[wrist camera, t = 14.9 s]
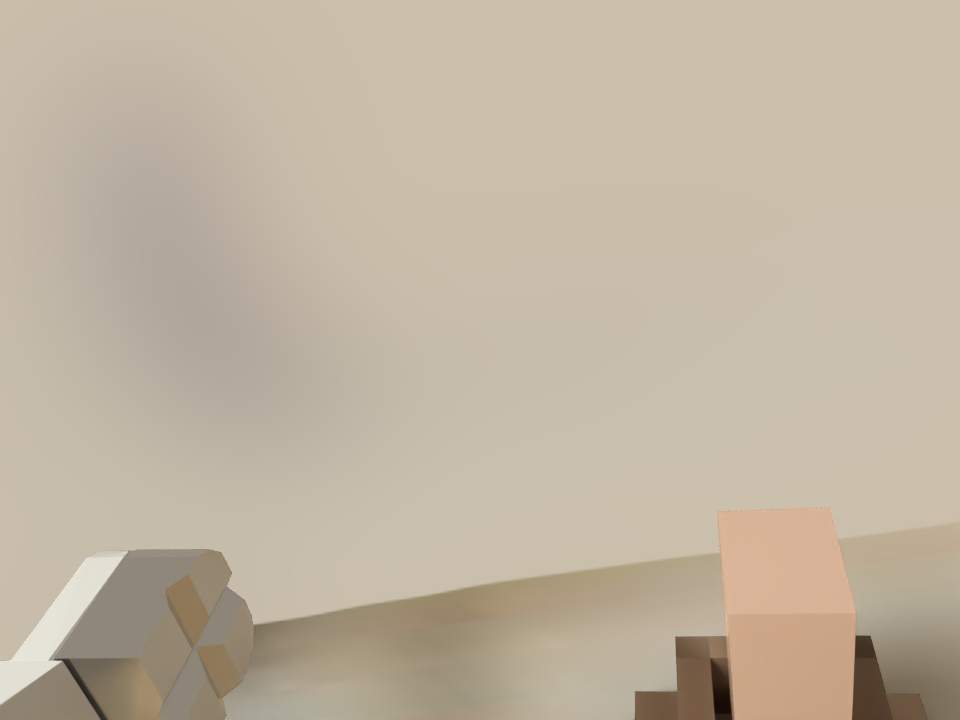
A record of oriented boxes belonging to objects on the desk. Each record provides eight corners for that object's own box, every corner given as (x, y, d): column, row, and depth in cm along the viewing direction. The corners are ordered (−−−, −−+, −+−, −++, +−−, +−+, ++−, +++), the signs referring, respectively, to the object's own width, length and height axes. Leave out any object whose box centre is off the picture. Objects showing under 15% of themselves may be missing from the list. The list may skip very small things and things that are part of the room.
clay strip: (743, 847, 36) (727, 614, 29) (733, 739, 40) (717, 511, 33) (846, 853, 35) (856, 612, 28) (825, 741, 39) (829, 507, 32)
